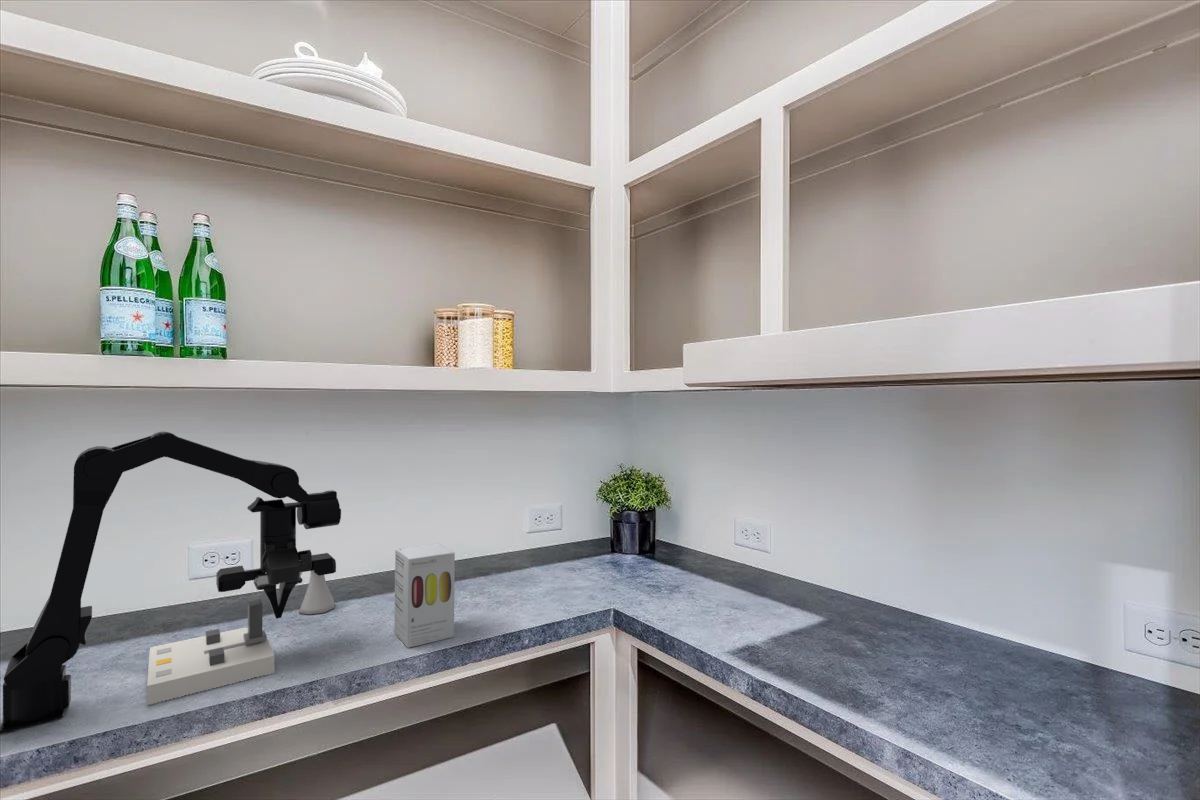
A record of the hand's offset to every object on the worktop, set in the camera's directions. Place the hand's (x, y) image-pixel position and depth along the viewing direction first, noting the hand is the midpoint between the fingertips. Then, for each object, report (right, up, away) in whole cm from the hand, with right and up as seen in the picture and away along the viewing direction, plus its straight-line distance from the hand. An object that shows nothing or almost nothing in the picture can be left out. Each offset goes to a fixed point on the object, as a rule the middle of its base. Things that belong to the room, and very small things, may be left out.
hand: (278, 617), depth 105 cm
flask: (-4, -7, +22) cm, 23 cm away
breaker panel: (-8, -6, -6) cm, 12 cm away
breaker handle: (-3, -4, -2) cm, 5 cm away
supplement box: (+25, -7, +8) cm, 27 cm away
